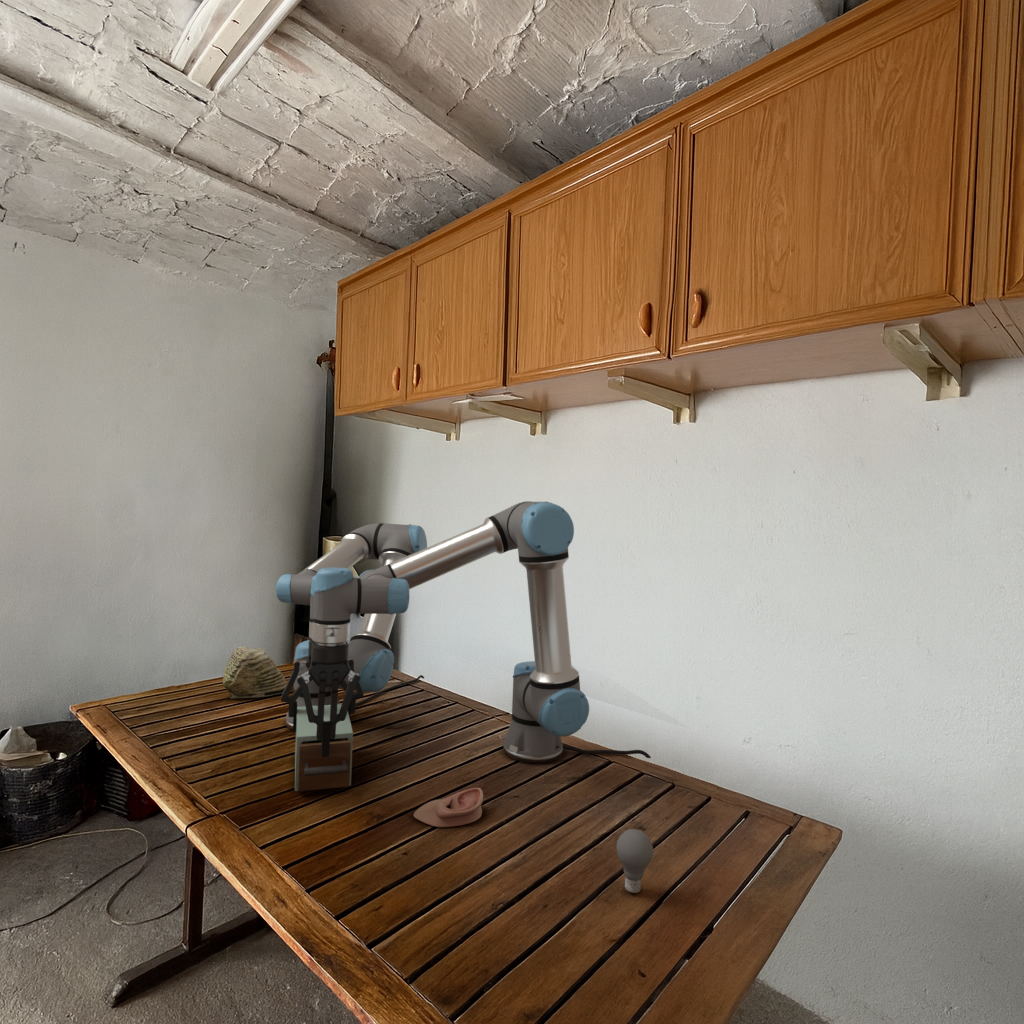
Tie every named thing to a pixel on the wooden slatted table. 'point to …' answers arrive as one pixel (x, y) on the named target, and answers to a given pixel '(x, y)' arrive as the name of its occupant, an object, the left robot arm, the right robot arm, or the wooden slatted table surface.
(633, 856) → the light bulb
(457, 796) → the anatomical model
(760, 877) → the wooden slatted table surface
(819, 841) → the wooden slatted table surface
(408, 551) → the left robot arm
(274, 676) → the fossil
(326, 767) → the drawer
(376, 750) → the wooden slatted table surface
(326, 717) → the cabinet
